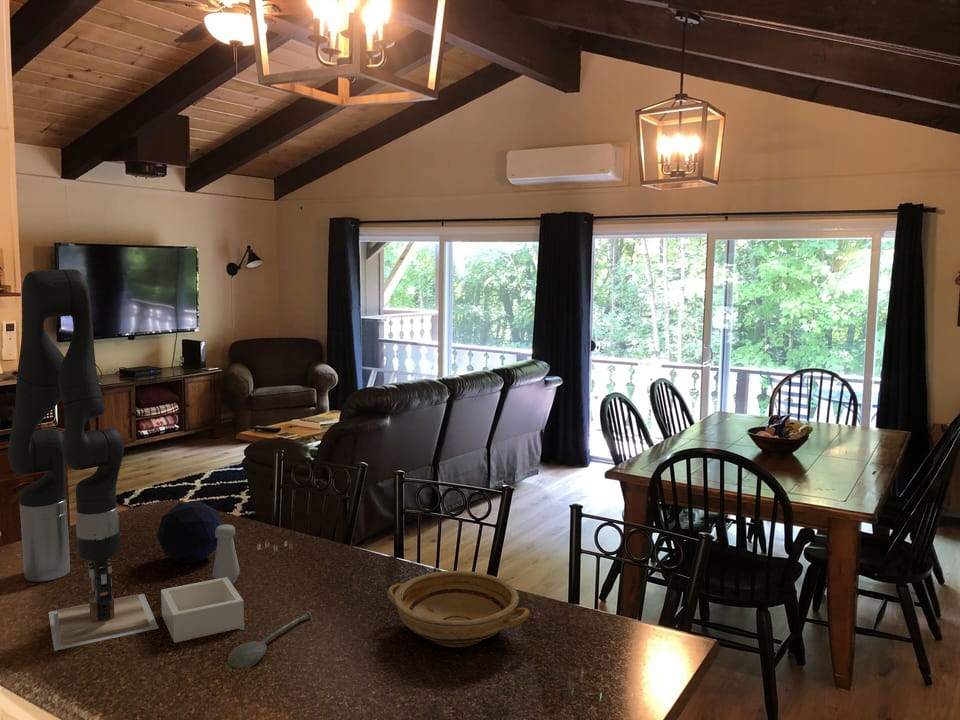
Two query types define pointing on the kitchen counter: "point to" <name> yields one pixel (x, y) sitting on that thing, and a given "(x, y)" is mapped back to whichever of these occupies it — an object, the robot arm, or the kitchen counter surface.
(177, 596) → the white open box
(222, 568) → the salt shaker
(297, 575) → the kitchen counter surface
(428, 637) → the ceramic bowl
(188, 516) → the decorative orb
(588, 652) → the kitchen counter surface
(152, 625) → the tray
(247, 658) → the soupspoon
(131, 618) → the lid
